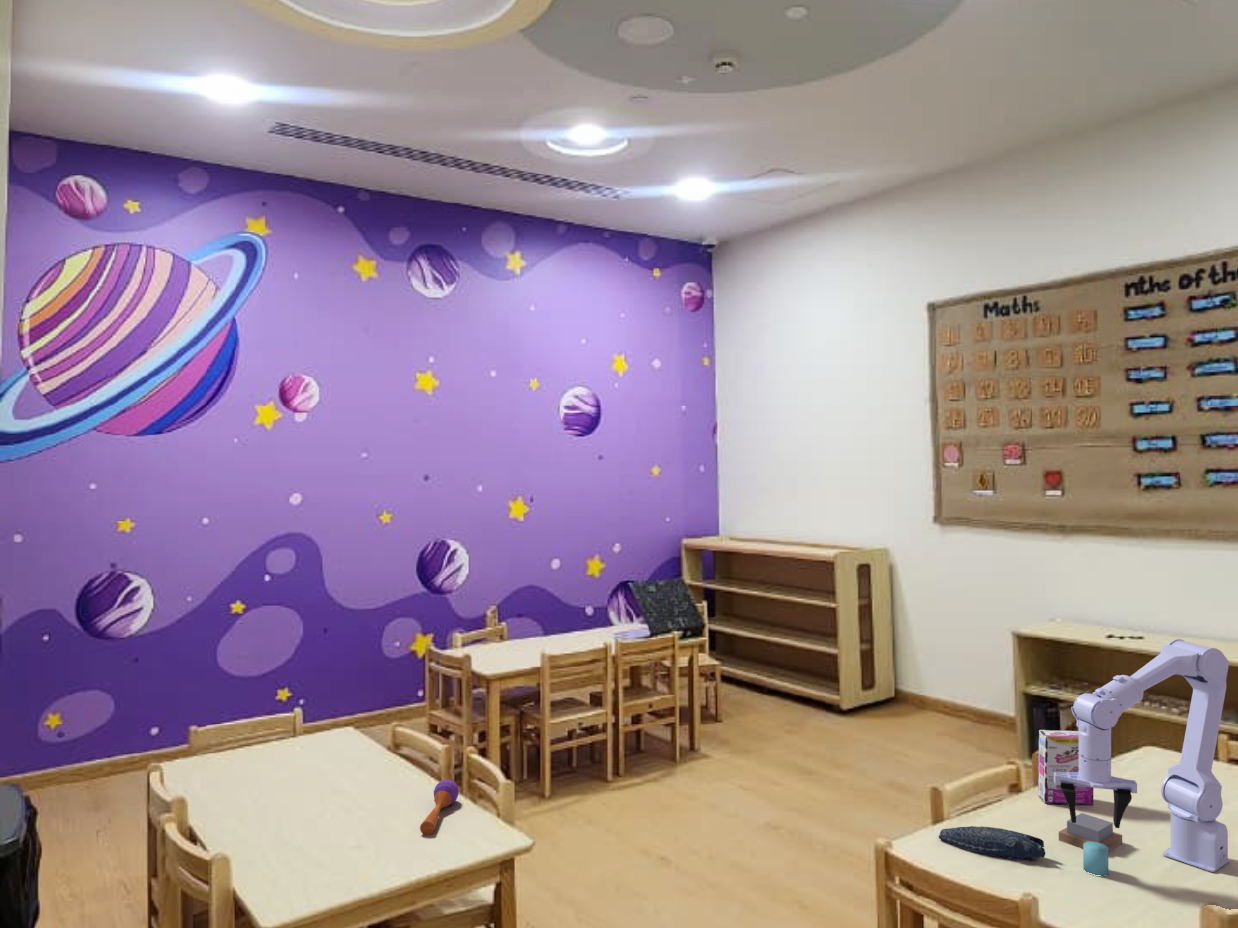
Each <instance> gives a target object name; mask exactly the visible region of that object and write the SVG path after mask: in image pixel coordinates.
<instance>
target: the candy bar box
mask: <svg viewBox="0 0 1238 928" xmlns="http://www.w3.org/2000/svg"><path fill="white" fill-rule="evenodd" d="M1054 772H1064V773H1065V772H1079V730H1051V729H1039V730H1038V784H1037V785H1038V790H1037V791H1038V793H1037V794H1038V797H1039V799H1041V800H1042V802H1043V803H1044V804H1047V805H1048V804H1050V805H1068V803H1067V800H1066V798H1065V796H1064V794H1063V791H1062V789H1061V786H1060V785H1055V783H1054ZM1074 788H1075V792H1076V801H1075V806H1077V805H1078V806H1079V805H1081V806H1082V805H1083V806H1093V805H1094V788H1093V787H1083V786H1074Z"/></svg>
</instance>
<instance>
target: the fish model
mask: <svg viewBox="0 0 1238 928" xmlns="http://www.w3.org/2000/svg"><path fill="white" fill-rule="evenodd" d="M938 839H939V840H940V839H941V840H940V841H944V842H945V841H946V842H945V843H948V844H949V845H953V844H954V845H953V846H955V847H958V846H959V848H960V849H964V848H965V849H964V850H968V851H970V850H971V851H970V852H975V853H979V854H985V855H988V856H995V857H1001V858H1005V859H1010V860H1016V861H1017V860H1021V859H1027V860H1028V861H1030V862H1034V860H1036V859H1037V858H1045V856H1046V850H1045V848H1044V847H1045V844H1044V843H1045V842H1044V840H1043V839H1041V838H1039V837H1036V836H1033V835H1030V834H1026V833H1023V832H1018V831H1015V830H1008V829H1005V828H1001V827H1000V828H999V827H991V826H975V825H974V826H973V825H970V826H958V827H951V828H942V829H941V830H940V832H939V835H938Z"/></svg>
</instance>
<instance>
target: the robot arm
mask: <svg viewBox="0 0 1238 928" xmlns="http://www.w3.org/2000/svg"><path fill="white" fill-rule="evenodd" d="M1229 666H1230V660H1228V658H1227V657H1226V656H1225V654H1224V653H1223V652H1222V651H1221V650H1220V649H1218V648H1215V647H1209V646H1205V645H1201V644H1198V643H1193V642H1189V641H1186V640H1183V639H1180V638H1175V639H1173V640H1170V641H1169V642H1168V643H1166V644H1165V645H1162V646H1161V648H1160V653H1159V654H1157V656H1155V657H1154V658H1153V659H1151V660H1150V661H1149V662H1147V663H1146V664H1145V665H1144V666H1142V667H1141V668H1139V669H1138V670H1137V671H1135V672H1134V673H1133V674H1131V675H1130V676H1129V675H1126V674H1121V675H1118V674H1117V675H1115V676H1113V677H1112V679H1113V680H1111V681H1109V682H1107V683H1106V684H1104V685H1103V686H1101V687H1098V688H1097V689H1095V690H1094V692H1092V693H1086V692H1085V693H1082V694H1080V695H1078V696H1077V697H1076V699H1075V700H1074V702H1073V706H1071V707H1070V708H1071V713H1072V715H1073V717H1074V719H1075V720H1076V727H1077V728H1078V731H1079V772H1065V773H1064V772H1054V783H1055V785H1060V786H1061V789H1062V791H1063V794H1064V796H1065V798H1066V800H1067V803H1068V804H1067V806H1068V809H1069V810H1068V811H1069V814H1070V819H1071V821H1072V823H1076V816H1077V812H1076V804H1075V801H1076V792H1075V788H1074V786H1083V787H1093V789H1100V790H1112V791H1113V817H1112V818H1113V820H1112V821H1113V827H1115V829H1120V828H1121V827H1120V826H1121V822H1122V818H1123V815H1124V813H1125V811H1126V809H1127V807H1128V806H1129V804H1130V803H1131V801H1132V799H1133V796H1132V794H1138V783H1137V782H1136V780H1134V779H1128V778H1122V777H1117V776H1114V775H1113V776H1112V728H1113V727H1115V726H1116V725H1117V723H1118V720H1119V718H1120V717H1121V716H1122V714H1123V712H1125V711H1127V710H1128V709H1129V708H1131V707H1132V706H1134V705H1136V704H1138V703H1139V702H1140V701H1142V700H1143V698H1144V691H1146V690H1148V689H1149V688H1152V687H1153V686H1155V685H1157V684H1159V683H1161V682H1163V681H1165V680H1167V679H1169V678H1170V677H1172V676H1173V675H1179V676H1182V677H1184V679H1185V680H1186V681H1187V683H1188V684H1189V685H1190V686H1191V688H1192V695H1191V700H1190V707H1189V711H1188V717H1187V722H1186V728H1185V733H1184V738H1183V739H1184V740H1183V744H1182V749H1181V756H1180V761H1179V763H1177V764H1174V765H1172V766H1170V767H1169V768H1168V771H1167V775H1166V777H1165V778H1164V780H1163V782H1162V784H1161V788H1160V792H1161V796H1162V799H1163V800H1164V801H1165V802H1166V804H1167V809H1169V810H1170V847H1169V848H1167V849H1166V850H1164V851H1163V852H1162V853H1161V854H1162V856H1164V857H1167V858H1170V859H1173V860H1176V861H1177V862H1178V861H1179V862H1182V863H1185V864H1186V865H1187V864H1188V865H1191V866H1194V867H1196V868H1200V869H1203V870H1205V871H1207V872H1211V873H1215V872H1216V871H1218V870H1219V869H1221V868H1222V867H1223V866H1225V865H1226V864H1227V863H1229V862H1230V858H1229V857H1228V856H1229V855H1228V854H1229V849H1228V848H1229V844H1228V843H1229V841H1228V838H1229V837H1228V835H1229V833H1228V832H1229V831H1228V827H1227V826H1226V824H1225V823H1223V822H1220V821H1218V820H1217V818H1218V817H1219V816H1220V815H1221V812H1222V810H1223V805H1224V804H1223V799H1222V789H1223V786H1222V784H1221V783H1220V781H1219V780H1218V779H1217V777H1216V776H1215V774H1213V771H1212V769H1213V763H1214V758H1215V753H1216V748H1217V747H1216V746H1217V741H1218V737H1219V732H1220V731H1219V730H1220V725H1221V719H1222V713H1223V708H1224V702H1225V696H1226V691H1227V677H1228V671H1229Z"/></svg>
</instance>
